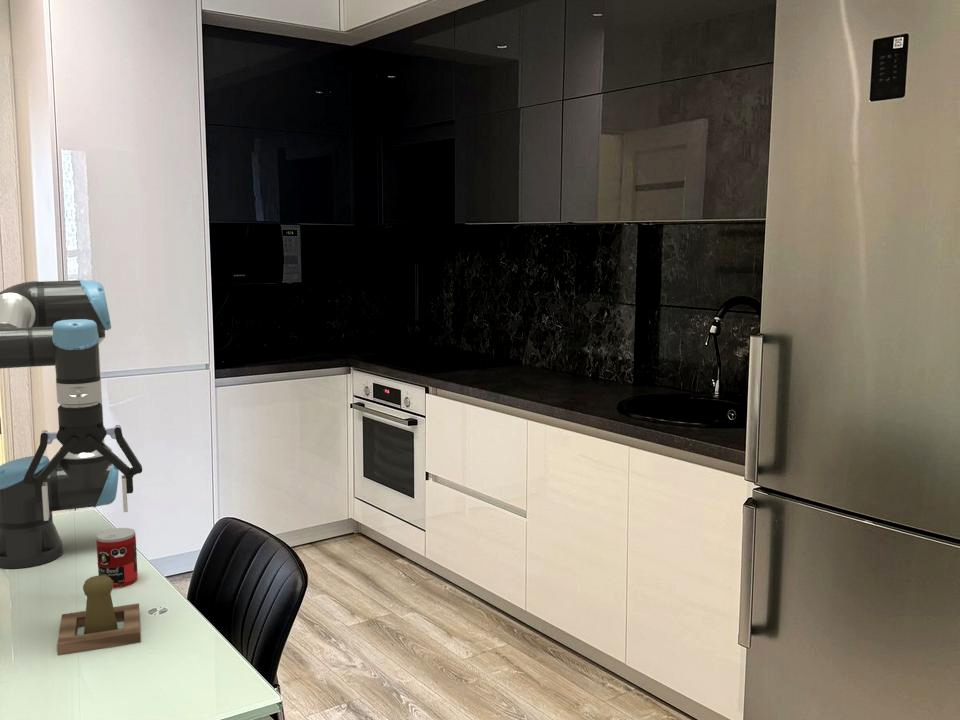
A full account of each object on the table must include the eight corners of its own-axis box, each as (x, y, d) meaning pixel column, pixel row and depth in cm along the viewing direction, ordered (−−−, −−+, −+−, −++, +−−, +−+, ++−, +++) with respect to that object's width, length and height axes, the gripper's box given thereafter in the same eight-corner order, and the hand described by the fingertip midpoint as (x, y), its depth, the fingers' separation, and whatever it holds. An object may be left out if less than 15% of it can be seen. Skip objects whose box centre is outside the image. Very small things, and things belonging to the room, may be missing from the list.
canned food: (91, 586, 190) (88, 537, 189) (117, 573, 198) (115, 525, 196) (119, 590, 188) (116, 541, 186) (145, 577, 195) (143, 529, 194)
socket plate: (62, 623, 172) (62, 614, 171) (139, 612, 177) (139, 603, 177) (57, 655, 159) (56, 644, 159) (140, 642, 164) (140, 632, 164)
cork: (105, 641, 164) (102, 585, 163) (76, 638, 166) (73, 582, 164) (124, 627, 170) (121, 573, 169) (96, 624, 171) (93, 570, 170)
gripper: (1, 412, 155) (10, 528, 158) (152, 402, 164) (158, 512, 167) (6, 404, 162) (14, 515, 165) (151, 395, 171) (156, 501, 174)
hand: (86, 514), depth 166 cm, fingers open, 13 cm apart
